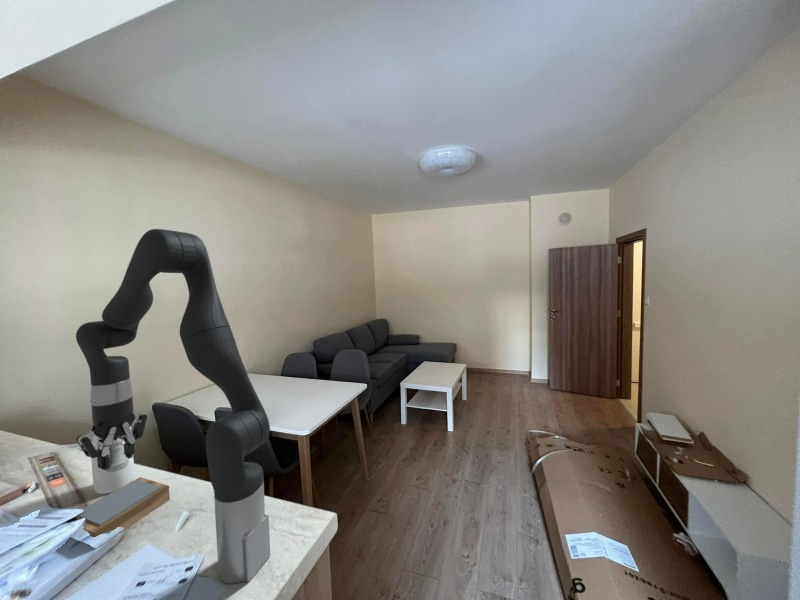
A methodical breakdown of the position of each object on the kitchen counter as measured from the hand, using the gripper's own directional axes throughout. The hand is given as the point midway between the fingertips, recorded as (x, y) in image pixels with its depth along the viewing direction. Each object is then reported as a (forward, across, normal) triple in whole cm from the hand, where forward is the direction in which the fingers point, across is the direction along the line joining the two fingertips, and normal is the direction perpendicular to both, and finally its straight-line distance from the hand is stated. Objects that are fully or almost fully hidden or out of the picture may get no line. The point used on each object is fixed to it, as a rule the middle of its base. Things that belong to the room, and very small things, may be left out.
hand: (117, 462), depth 75 cm
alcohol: (+15, +7, +16) cm, 23 cm away
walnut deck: (+15, 0, 0) cm, 15 cm away
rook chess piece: (+1, 0, 0) cm, 1 cm away
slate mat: (+11, 0, 0) cm, 11 cm away
